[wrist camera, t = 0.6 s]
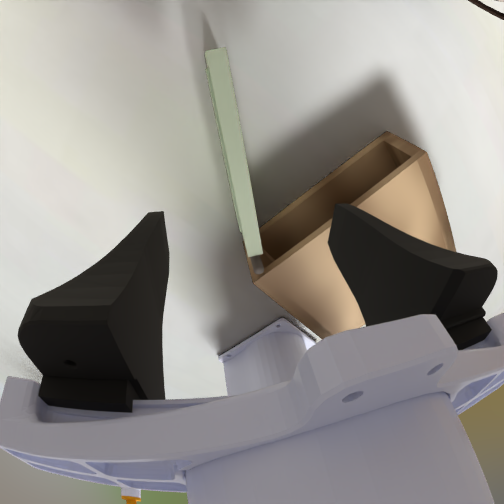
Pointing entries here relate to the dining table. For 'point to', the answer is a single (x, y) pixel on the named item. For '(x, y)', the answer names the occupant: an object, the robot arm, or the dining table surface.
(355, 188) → the cabinet
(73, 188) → the dining table surface
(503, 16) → the coffee mug
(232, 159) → the door
